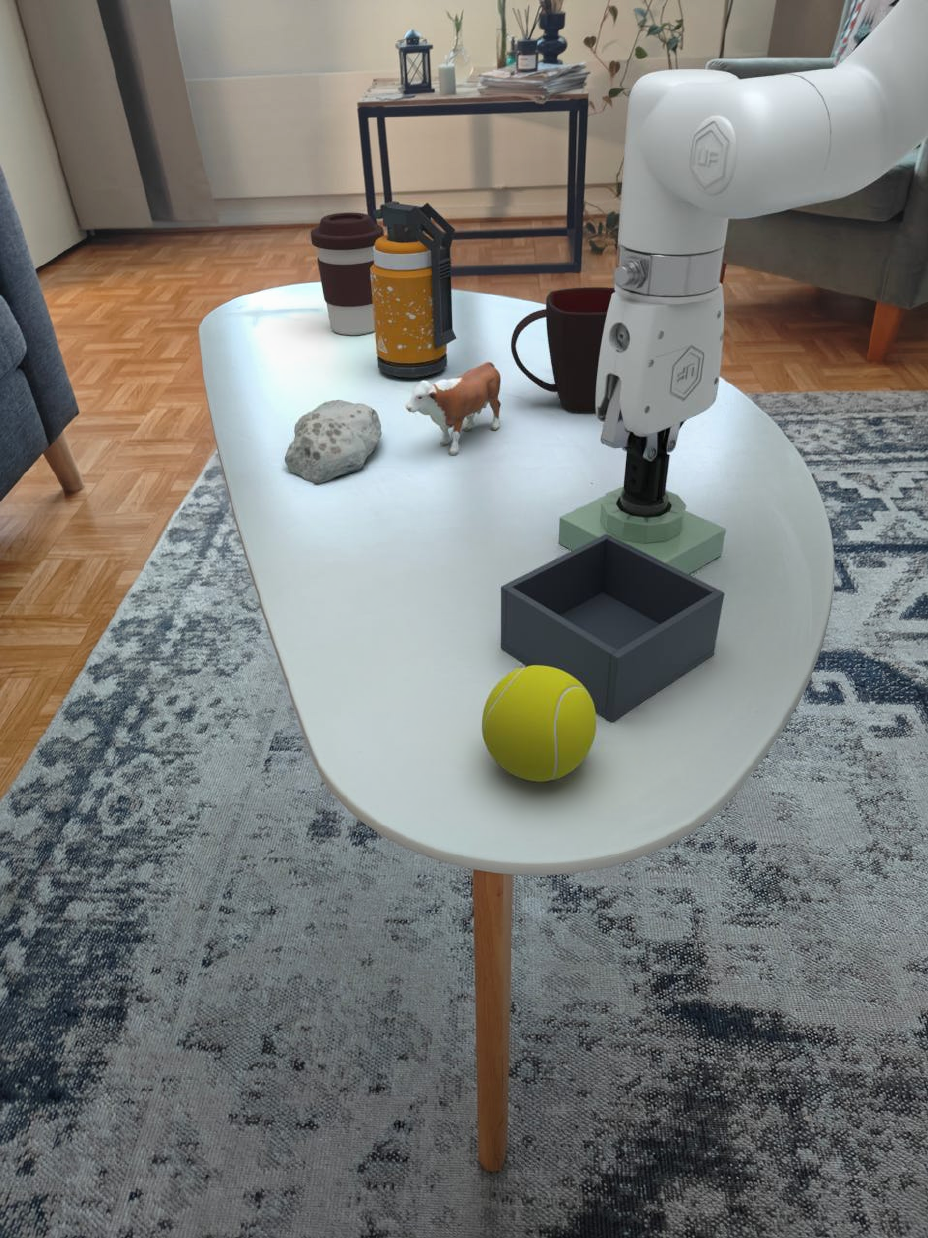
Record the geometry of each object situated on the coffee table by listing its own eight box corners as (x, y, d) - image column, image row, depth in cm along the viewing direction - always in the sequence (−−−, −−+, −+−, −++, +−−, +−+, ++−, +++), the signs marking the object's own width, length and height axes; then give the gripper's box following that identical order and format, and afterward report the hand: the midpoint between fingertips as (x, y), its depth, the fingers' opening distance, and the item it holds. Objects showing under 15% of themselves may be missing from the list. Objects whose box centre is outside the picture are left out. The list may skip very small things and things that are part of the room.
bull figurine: (402, 456, 95) (397, 382, 90) (483, 416, 103) (483, 346, 99) (432, 468, 93) (429, 392, 88) (513, 426, 101) (514, 354, 96)
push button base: (721, 555, 78) (729, 509, 75) (654, 594, 73) (660, 547, 71) (625, 510, 85) (629, 466, 82) (558, 543, 80) (560, 498, 77)
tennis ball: (610, 750, 59) (618, 666, 55) (561, 820, 54) (566, 734, 50) (516, 713, 62) (518, 631, 58) (462, 776, 57) (460, 692, 53)
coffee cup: (352, 313, 136) (342, 206, 127) (403, 324, 131) (397, 214, 123) (307, 331, 130) (293, 220, 121) (359, 343, 125) (349, 228, 116)
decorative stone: (279, 439, 99) (273, 396, 97) (376, 427, 102) (372, 384, 99) (290, 488, 90) (283, 442, 87) (396, 474, 92) (393, 428, 89)
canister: (407, 352, 121) (398, 191, 110) (474, 368, 116) (471, 200, 104) (363, 372, 116) (348, 204, 104) (431, 390, 110) (424, 215, 99)
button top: (675, 517, 77) (678, 495, 76) (645, 533, 75) (647, 511, 74) (639, 500, 79) (642, 479, 78) (609, 515, 77) (610, 494, 76)
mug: (637, 418, 102) (647, 311, 95) (515, 424, 101) (517, 317, 94) (618, 385, 110) (626, 284, 103) (505, 391, 109) (506, 290, 102)
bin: (713, 655, 67) (725, 592, 63) (611, 723, 61) (618, 658, 58) (601, 592, 74) (606, 533, 70) (500, 648, 68) (500, 586, 65)
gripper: (639, 301, 59) (617, 542, 70) (772, 259, 67) (734, 482, 77) (558, 279, 64) (549, 507, 74) (691, 242, 71) (665, 454, 82)
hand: (643, 494), depth 76 cm, fingers closed
